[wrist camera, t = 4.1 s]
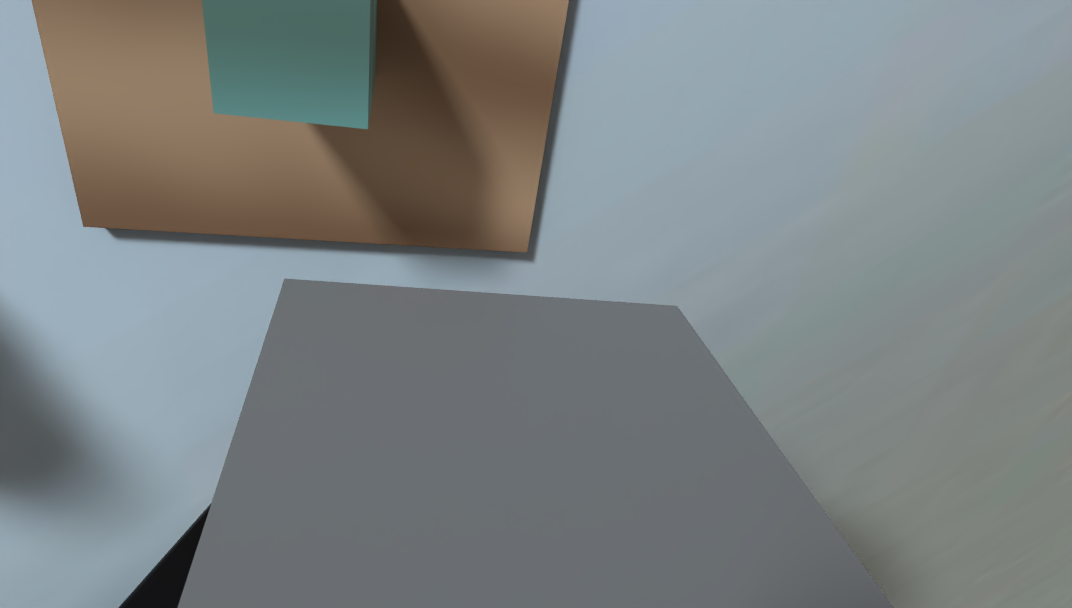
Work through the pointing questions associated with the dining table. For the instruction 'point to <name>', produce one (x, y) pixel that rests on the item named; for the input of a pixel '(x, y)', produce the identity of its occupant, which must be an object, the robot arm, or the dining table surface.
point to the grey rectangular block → (505, 465)
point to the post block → (307, 116)
